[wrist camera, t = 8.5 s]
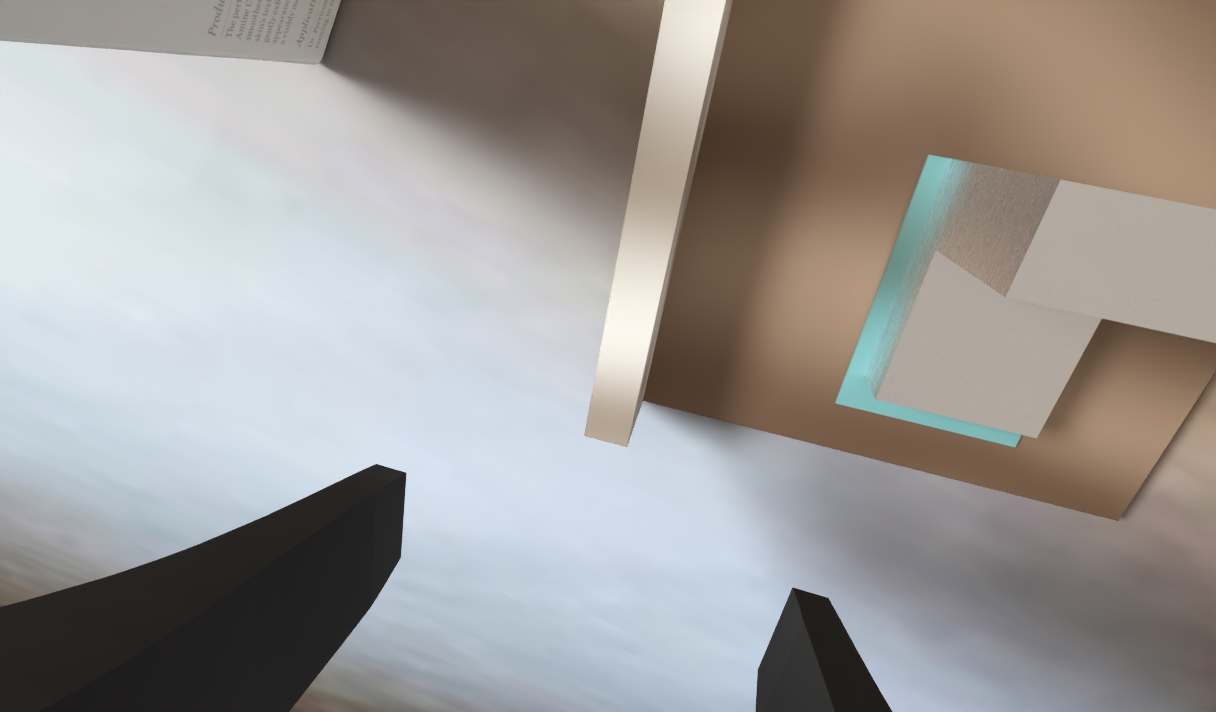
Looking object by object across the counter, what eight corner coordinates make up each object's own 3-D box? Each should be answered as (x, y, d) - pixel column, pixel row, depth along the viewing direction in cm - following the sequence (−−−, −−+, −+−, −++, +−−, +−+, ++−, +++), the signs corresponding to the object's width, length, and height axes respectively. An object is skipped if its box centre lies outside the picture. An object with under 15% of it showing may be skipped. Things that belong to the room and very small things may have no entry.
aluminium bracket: (1125, 191, 14) (1338, 232, 9) (1012, 411, 16) (1131, 540, 11) (950, 158, 14) (1061, 179, 10) (864, 376, 17) (917, 485, 12)
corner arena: (1106, 508, 18) (1187, 594, 14) (609, 383, 19) (584, 435, 16) (1504, -120, 12) (1798, -211, 8) (728, -218, 13) (724, -323, 10)
